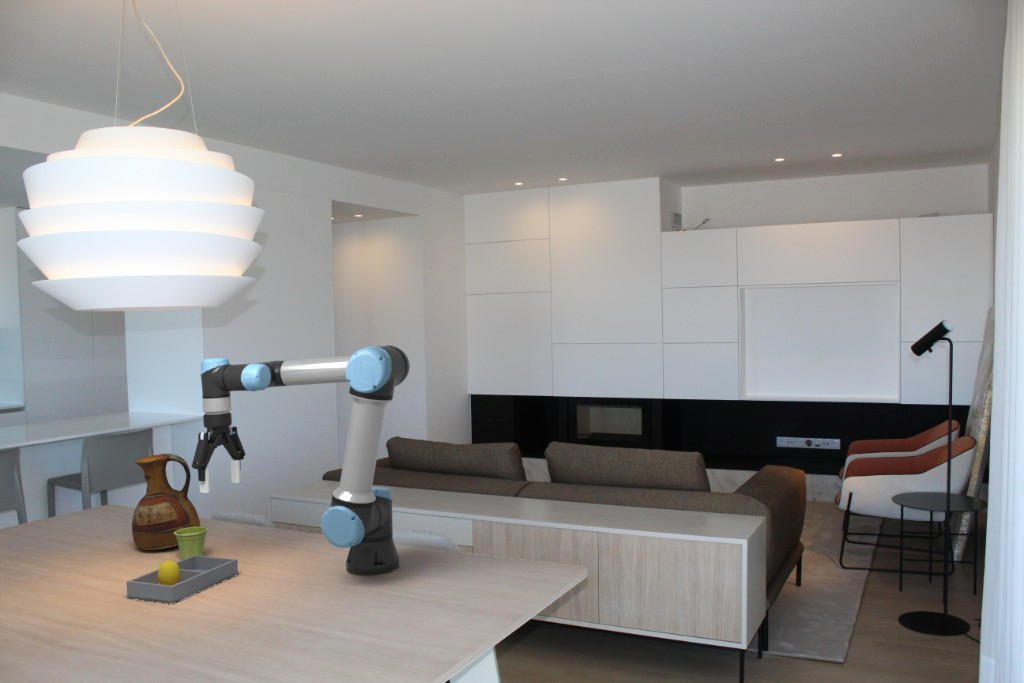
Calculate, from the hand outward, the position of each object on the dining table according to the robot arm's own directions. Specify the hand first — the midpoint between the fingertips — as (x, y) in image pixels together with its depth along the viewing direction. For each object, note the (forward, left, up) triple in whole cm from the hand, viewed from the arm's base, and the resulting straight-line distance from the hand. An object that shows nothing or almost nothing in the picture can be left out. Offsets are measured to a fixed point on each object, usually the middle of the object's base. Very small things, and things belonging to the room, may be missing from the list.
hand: (221, 487), depth 231 cm
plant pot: (+20, -9, -25) cm, 33 cm away
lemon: (+3, +18, -24) cm, 30 cm away
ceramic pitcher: (+38, -18, -25) cm, 49 cm away
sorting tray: (+3, +12, -25) cm, 28 cm away
